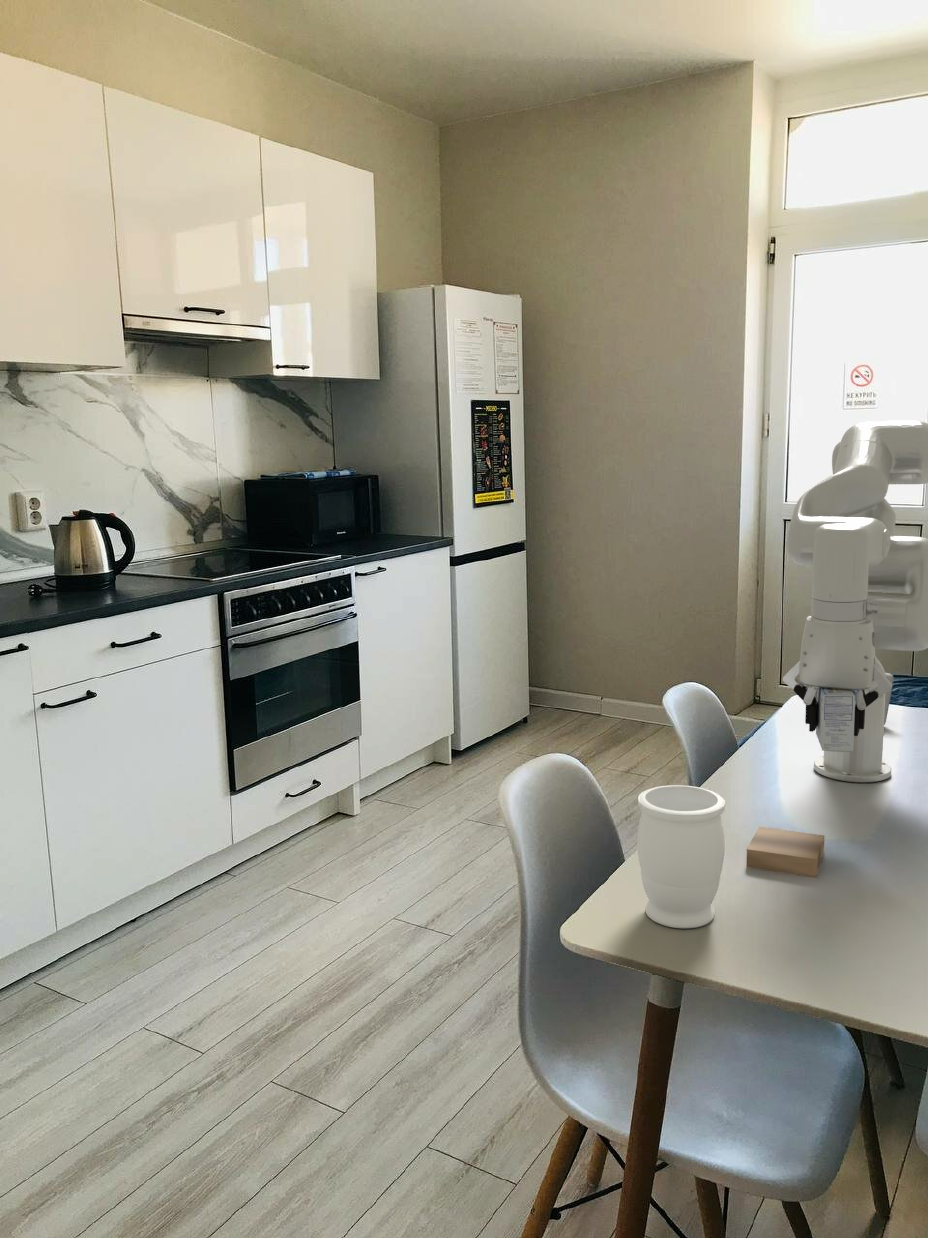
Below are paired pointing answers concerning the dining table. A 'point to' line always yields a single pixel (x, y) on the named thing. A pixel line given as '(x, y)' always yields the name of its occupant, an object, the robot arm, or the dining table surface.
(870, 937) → the dining table surface
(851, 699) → the medicine box
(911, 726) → the dining table surface
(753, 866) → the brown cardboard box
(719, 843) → the jar
